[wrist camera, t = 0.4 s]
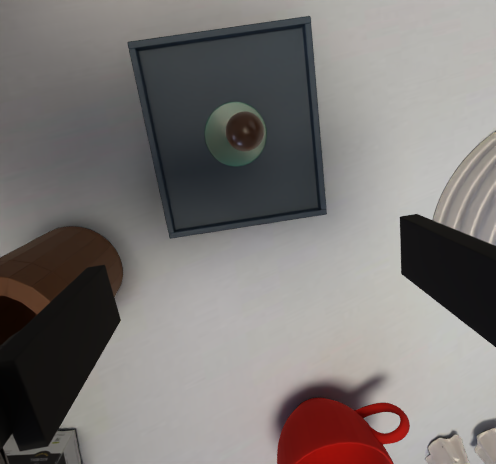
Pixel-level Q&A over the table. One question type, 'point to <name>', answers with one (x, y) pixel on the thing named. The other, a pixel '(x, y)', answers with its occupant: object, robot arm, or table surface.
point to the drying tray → (220, 92)
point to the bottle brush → (235, 134)
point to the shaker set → (463, 449)
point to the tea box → (46, 451)
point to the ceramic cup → (336, 434)
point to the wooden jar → (49, 272)
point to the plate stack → (472, 194)
